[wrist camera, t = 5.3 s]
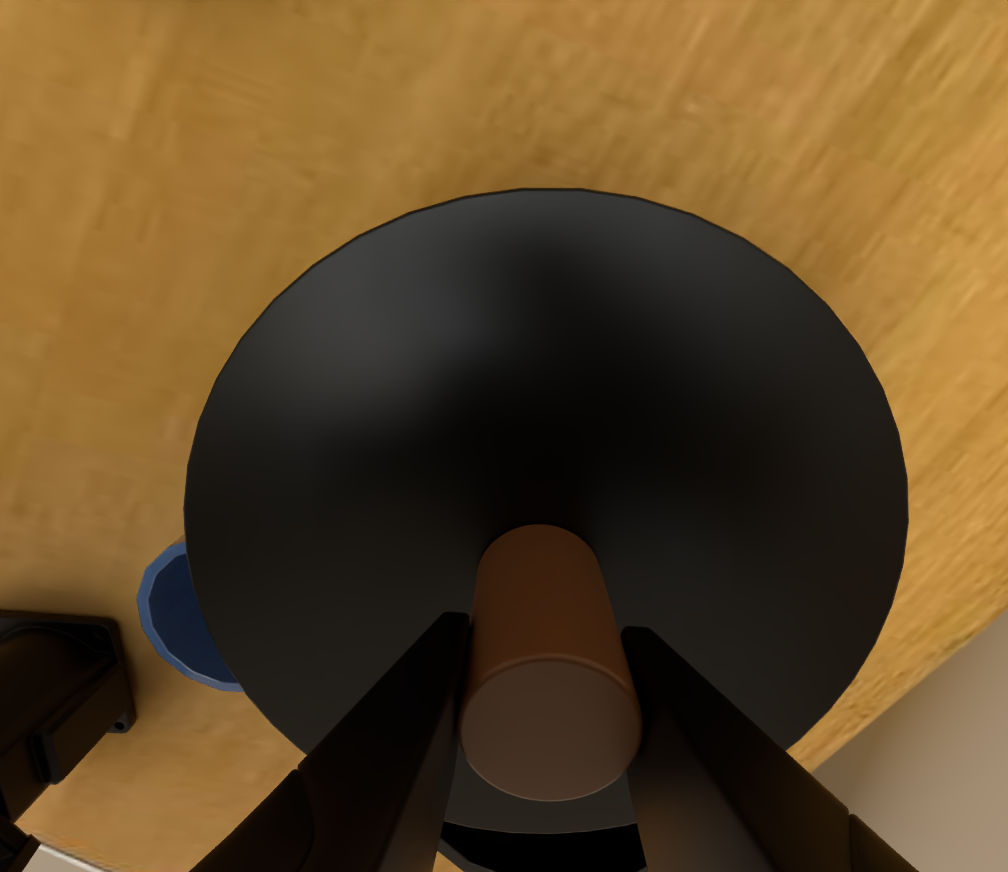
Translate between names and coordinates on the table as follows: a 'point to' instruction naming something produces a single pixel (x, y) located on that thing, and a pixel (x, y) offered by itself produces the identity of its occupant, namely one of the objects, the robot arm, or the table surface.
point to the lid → (546, 487)
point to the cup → (180, 620)
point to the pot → (543, 850)
